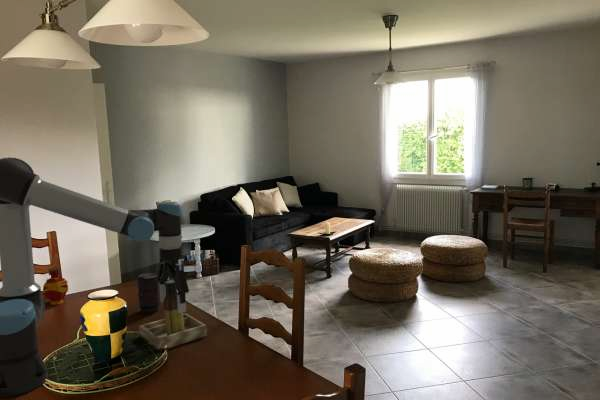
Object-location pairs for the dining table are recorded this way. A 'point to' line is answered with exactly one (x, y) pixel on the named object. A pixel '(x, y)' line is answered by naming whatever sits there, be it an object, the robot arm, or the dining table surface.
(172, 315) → the sauce bottle
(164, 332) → the box
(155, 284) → the camera lens
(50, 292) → the potion bottle
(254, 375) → the dining table surface
